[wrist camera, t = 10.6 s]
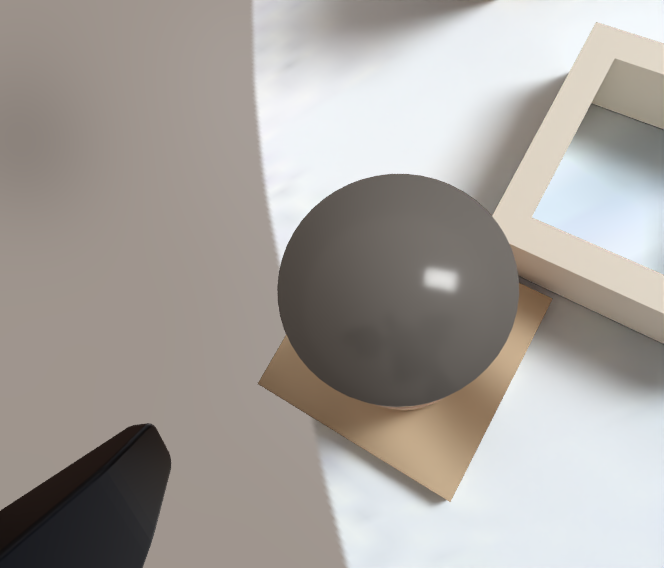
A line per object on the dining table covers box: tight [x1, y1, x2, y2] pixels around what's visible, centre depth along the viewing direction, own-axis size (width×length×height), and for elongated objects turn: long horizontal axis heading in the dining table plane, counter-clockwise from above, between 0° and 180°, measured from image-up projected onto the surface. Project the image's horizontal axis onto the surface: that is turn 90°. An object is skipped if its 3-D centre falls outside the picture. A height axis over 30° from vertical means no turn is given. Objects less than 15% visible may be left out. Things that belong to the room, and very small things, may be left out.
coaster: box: [258, 283, 553, 502], centre depth 21 cm, size 9×9×1 cm
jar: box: [278, 174, 519, 411], centre depth 16 cm, size 5×5×10 cm
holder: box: [492, 22, 664, 344], centre depth 20 cm, size 10×10×3 cm
